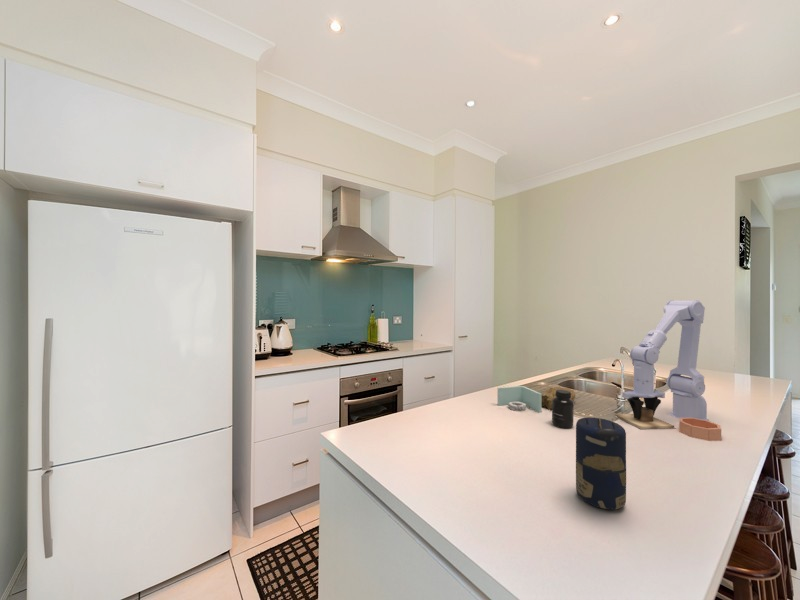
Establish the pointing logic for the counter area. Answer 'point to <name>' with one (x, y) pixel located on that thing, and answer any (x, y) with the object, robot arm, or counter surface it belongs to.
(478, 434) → the counter surface
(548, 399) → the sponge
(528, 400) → the teal corner wall
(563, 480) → the counter surface
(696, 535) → the counter surface
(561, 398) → the supplement bottle
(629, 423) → the mat
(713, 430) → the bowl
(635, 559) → the counter surface
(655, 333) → the robot arm
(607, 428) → the canister
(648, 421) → the lid
